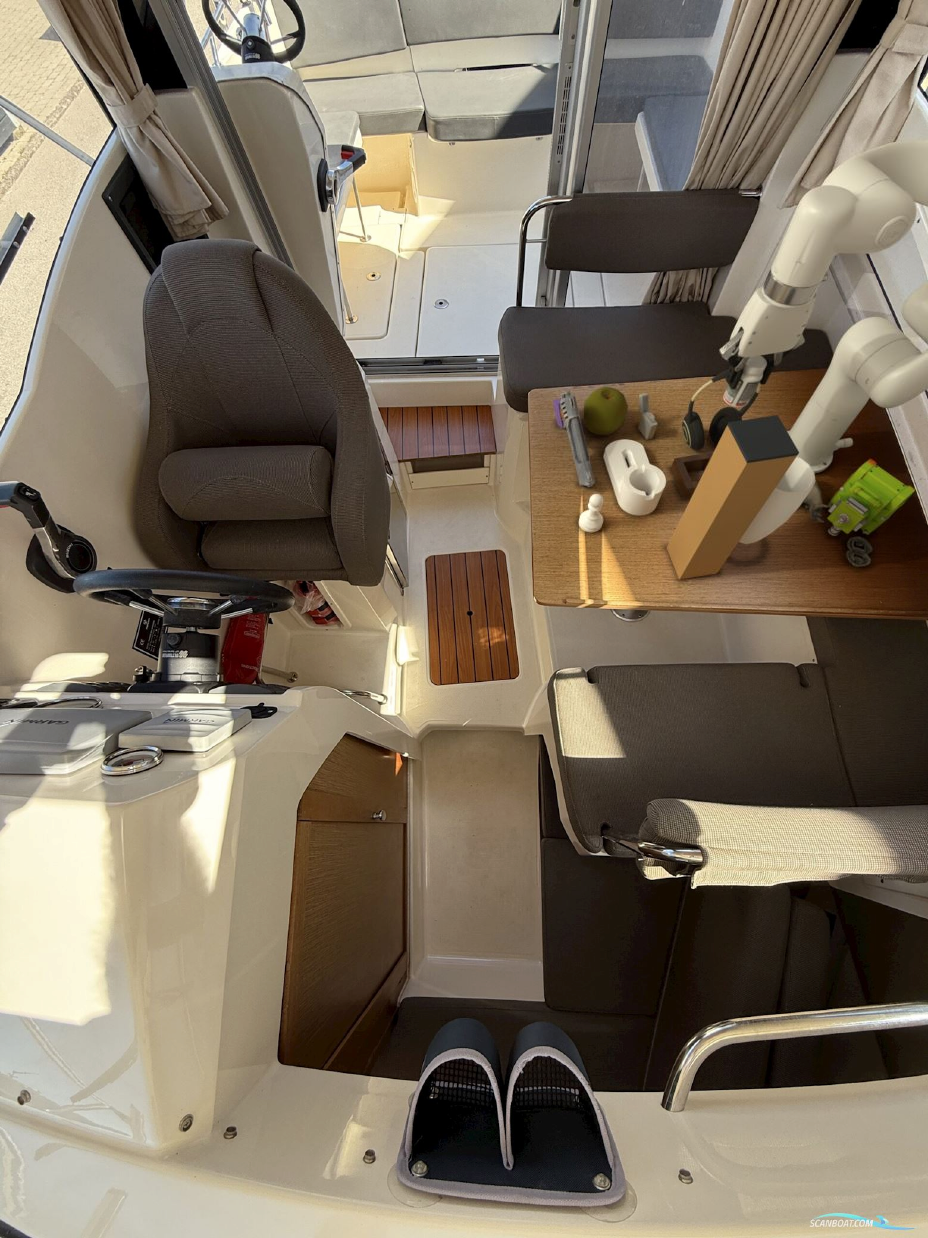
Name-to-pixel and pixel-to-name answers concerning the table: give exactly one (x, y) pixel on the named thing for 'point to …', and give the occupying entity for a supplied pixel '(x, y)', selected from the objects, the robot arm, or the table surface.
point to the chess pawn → (592, 515)
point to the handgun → (574, 436)
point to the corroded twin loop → (859, 551)
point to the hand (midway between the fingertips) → (745, 380)
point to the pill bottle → (746, 382)
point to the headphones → (694, 425)
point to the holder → (681, 474)
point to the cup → (782, 501)
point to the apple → (605, 410)
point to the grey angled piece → (646, 417)
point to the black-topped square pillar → (730, 494)
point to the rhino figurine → (815, 503)
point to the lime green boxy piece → (866, 500)
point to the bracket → (633, 477)
